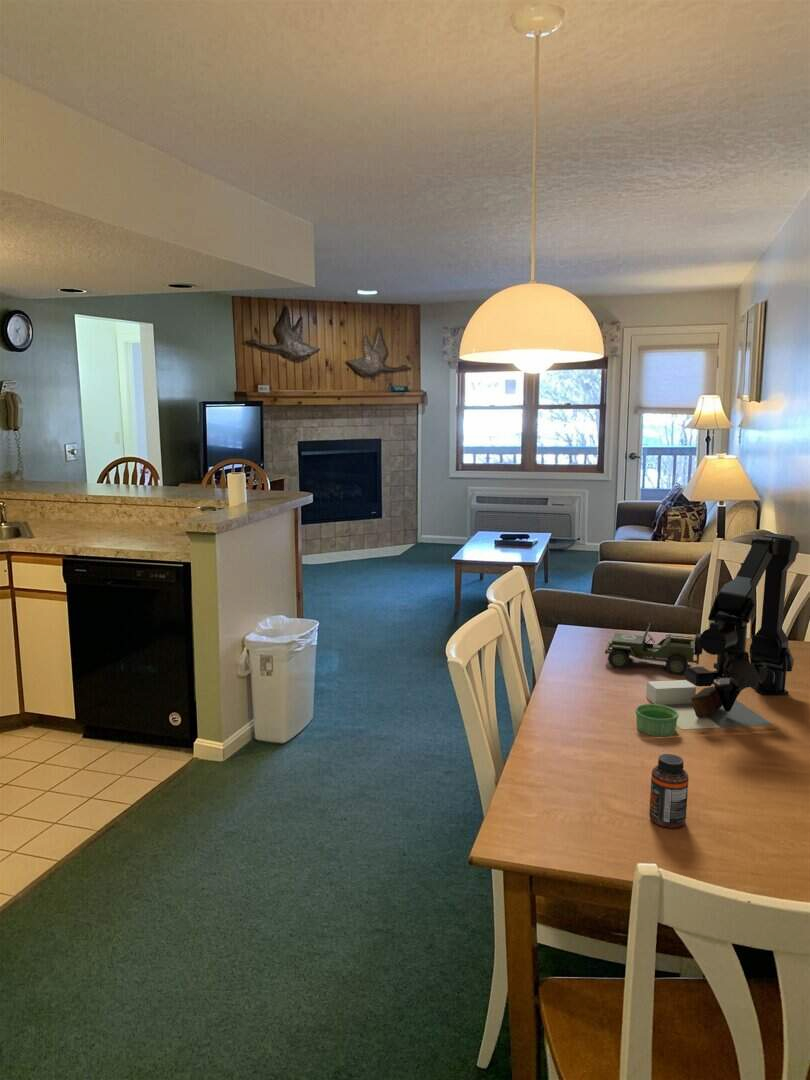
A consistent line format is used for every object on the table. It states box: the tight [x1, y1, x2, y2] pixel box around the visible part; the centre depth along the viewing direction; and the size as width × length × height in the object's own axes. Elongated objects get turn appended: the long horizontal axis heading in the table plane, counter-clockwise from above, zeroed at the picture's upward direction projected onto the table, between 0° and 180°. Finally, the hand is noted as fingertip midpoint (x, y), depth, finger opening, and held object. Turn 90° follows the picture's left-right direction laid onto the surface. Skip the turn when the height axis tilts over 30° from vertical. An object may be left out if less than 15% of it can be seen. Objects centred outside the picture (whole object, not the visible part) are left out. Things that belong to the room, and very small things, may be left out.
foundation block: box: [645, 679, 697, 705], centre depth 188 cm, size 10×5×4 cm, turn 97°
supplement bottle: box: [648, 753, 689, 829], centre depth 132 cm, size 6×6×11 cm
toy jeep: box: [604, 622, 704, 676], centre depth 214 cm, size 12×25×11 cm, turn 69°
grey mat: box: [646, 698, 774, 730], centre depth 182 cm, size 22×20×1 cm
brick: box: [691, 685, 722, 718], centre depth 180 cm, size 11×4×5 cm, turn 142°
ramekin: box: [635, 703, 679, 738], centre depth 171 cm, size 9×9×4 cm
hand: (727, 711), depth 178 cm, fingers closed
